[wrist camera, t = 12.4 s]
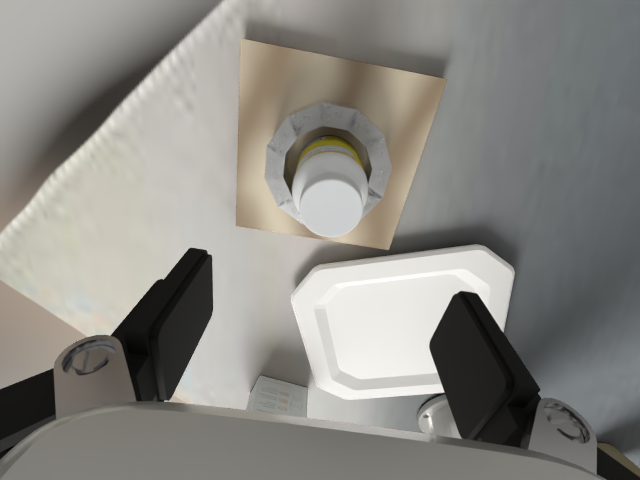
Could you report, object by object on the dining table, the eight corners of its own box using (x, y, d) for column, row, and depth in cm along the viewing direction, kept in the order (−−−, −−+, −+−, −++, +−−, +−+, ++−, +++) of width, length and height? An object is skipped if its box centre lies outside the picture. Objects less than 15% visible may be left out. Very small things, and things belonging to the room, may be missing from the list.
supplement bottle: (350, 197, 28) (359, 254, 20) (294, 185, 28) (279, 238, 19) (367, 140, 25) (386, 178, 17) (305, 125, 25) (294, 157, 17)
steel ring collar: (398, 113, 24) (406, 119, 22) (367, 220, 29) (371, 235, 27) (277, 90, 24) (270, 93, 21) (267, 203, 29) (261, 217, 26)
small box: (249, 393, 47) (230, 472, 38) (259, 373, 44) (241, 452, 35) (296, 406, 48) (289, 484, 39) (309, 387, 46) (304, 467, 37)
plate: (511, 230, 31) (523, 241, 29) (486, 375, 44) (493, 390, 42) (283, 260, 34) (281, 272, 32) (321, 389, 46) (320, 403, 44)
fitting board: (442, 78, 24) (447, 79, 23) (386, 244, 32) (388, 250, 31) (244, 39, 23) (240, 38, 22) (239, 220, 31) (235, 225, 30)
